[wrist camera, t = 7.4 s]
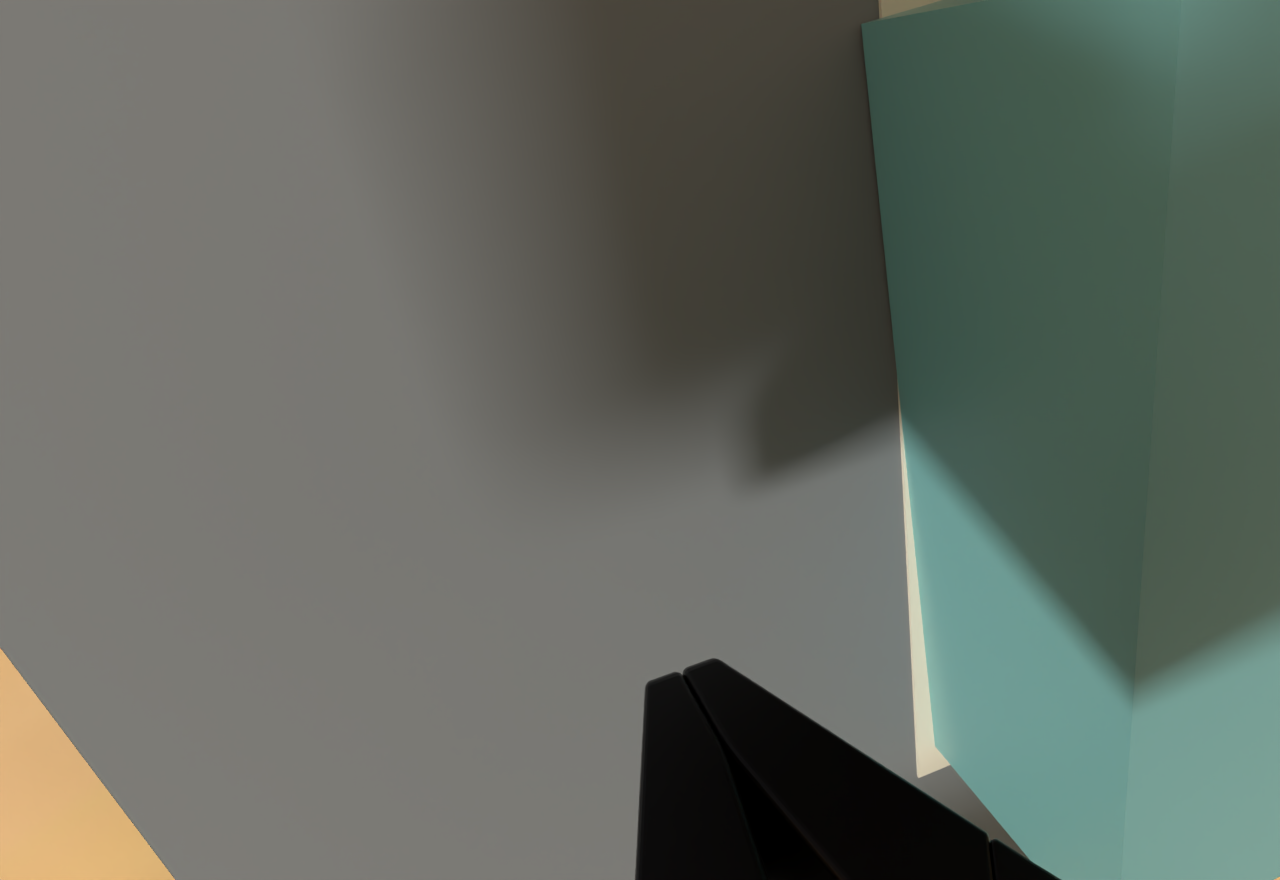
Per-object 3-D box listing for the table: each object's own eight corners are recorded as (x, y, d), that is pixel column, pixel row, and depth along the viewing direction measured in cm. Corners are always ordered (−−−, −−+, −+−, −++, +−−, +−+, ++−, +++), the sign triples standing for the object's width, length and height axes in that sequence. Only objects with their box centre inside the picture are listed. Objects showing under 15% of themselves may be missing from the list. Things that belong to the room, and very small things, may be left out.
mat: (1419, 670, 19) (1445, 685, 19) (388, 1130, 15) (388, 1165, 14) (1885, -658, 9) (1965, -698, 9) (-752, -445, 5) (-874, -502, 5)
